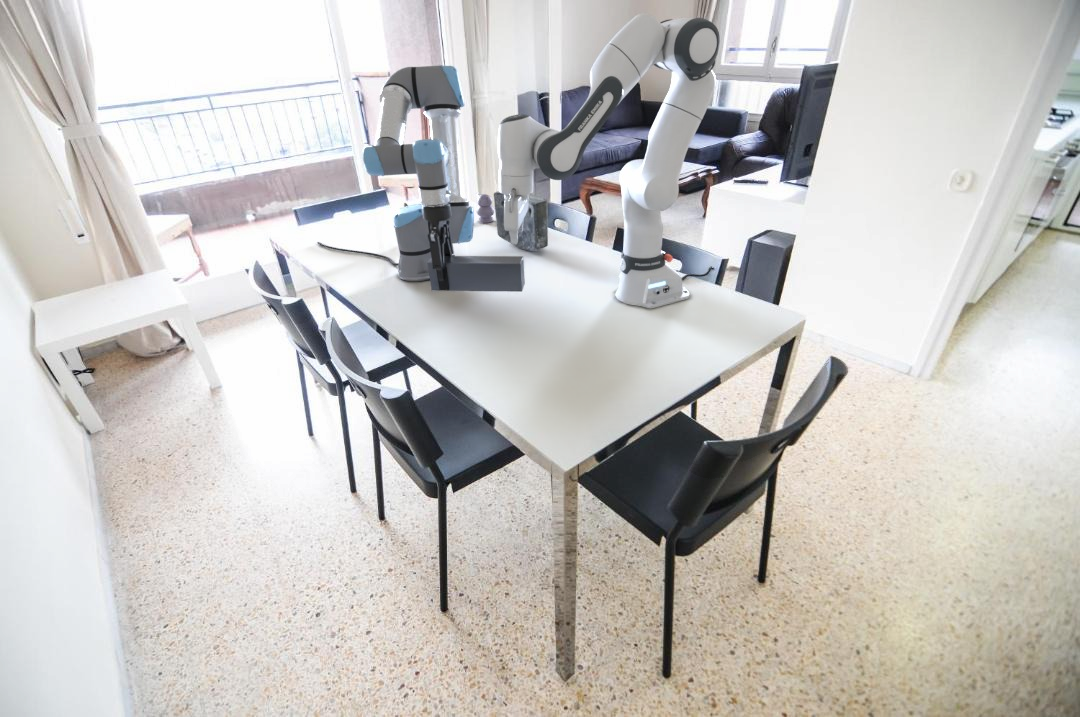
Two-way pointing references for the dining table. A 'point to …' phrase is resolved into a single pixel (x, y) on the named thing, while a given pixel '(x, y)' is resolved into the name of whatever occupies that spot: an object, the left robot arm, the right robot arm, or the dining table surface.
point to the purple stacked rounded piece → (485, 208)
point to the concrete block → (526, 223)
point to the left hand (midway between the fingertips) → (447, 285)
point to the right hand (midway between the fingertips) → (516, 237)
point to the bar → (481, 273)
